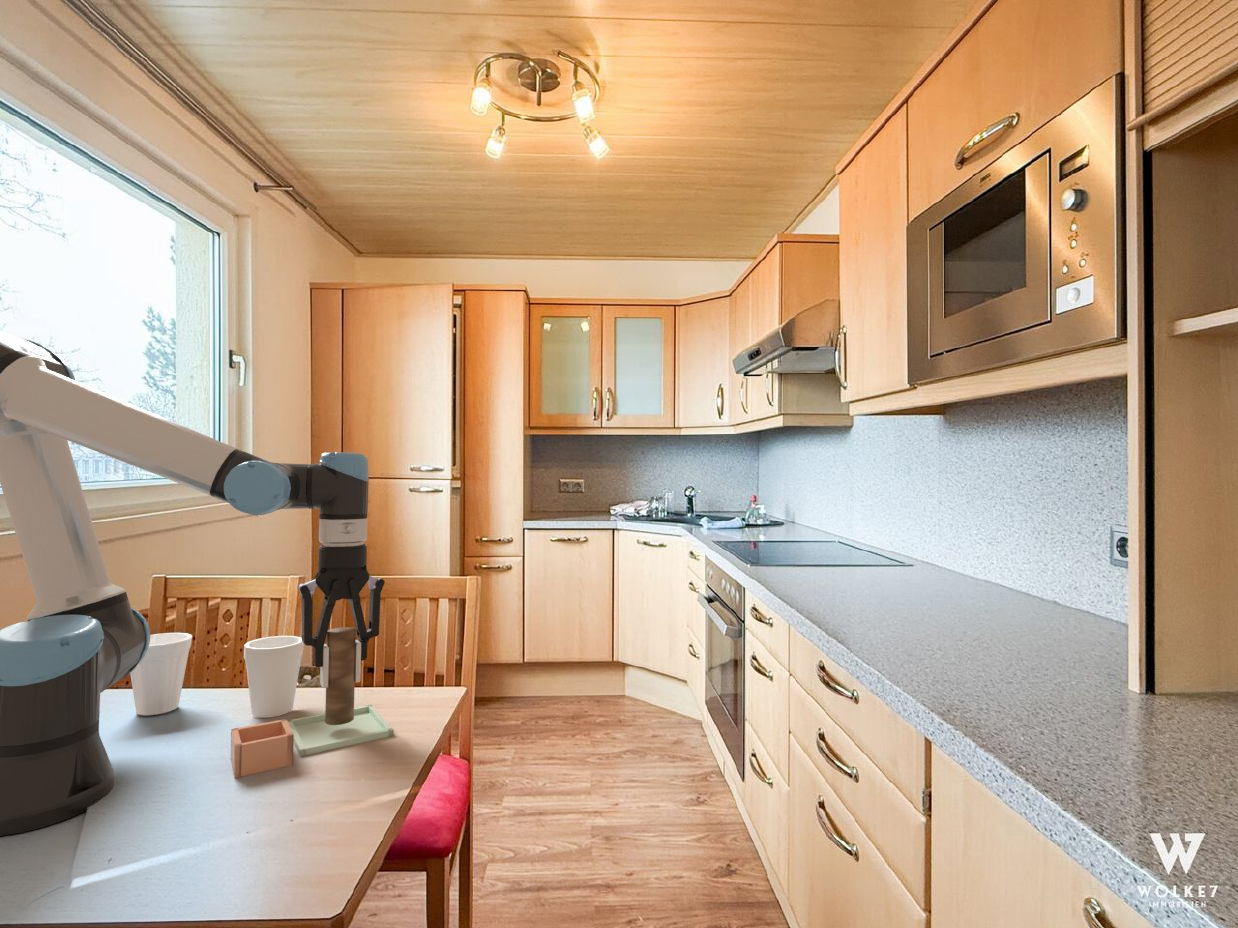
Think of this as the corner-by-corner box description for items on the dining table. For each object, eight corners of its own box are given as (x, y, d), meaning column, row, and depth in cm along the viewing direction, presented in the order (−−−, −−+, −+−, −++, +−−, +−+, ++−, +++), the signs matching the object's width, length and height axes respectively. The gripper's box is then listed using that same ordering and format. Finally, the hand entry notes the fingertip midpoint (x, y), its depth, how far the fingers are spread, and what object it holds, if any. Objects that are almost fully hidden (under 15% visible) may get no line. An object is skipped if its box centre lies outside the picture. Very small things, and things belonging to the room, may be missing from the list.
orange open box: (234, 782, 89) (235, 746, 89) (230, 762, 95) (231, 729, 95) (292, 768, 93) (293, 734, 93) (285, 750, 99) (286, 718, 99)
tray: (299, 759, 96) (299, 749, 96) (286, 729, 108) (286, 720, 108) (393, 738, 104) (393, 729, 104) (371, 712, 116) (371, 704, 116)
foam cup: (275, 726, 109) (277, 650, 109) (229, 721, 111) (231, 647, 111) (312, 707, 118) (314, 637, 118) (269, 702, 120) (271, 634, 120)
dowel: (328, 727, 103) (330, 634, 103) (322, 718, 107) (324, 629, 107) (356, 721, 106) (358, 631, 106) (350, 713, 109) (352, 625, 109)
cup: (164, 722, 110) (167, 646, 110) (108, 721, 110) (110, 645, 111) (203, 701, 120) (205, 632, 120) (151, 700, 120) (153, 631, 121)
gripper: (289, 548, 99) (285, 699, 98) (402, 543, 109) (399, 679, 108) (282, 544, 105) (278, 685, 104) (389, 539, 115) (387, 668, 114)
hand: (340, 682), depth 106 cm, fingers closed on dowel, 4 cm apart
